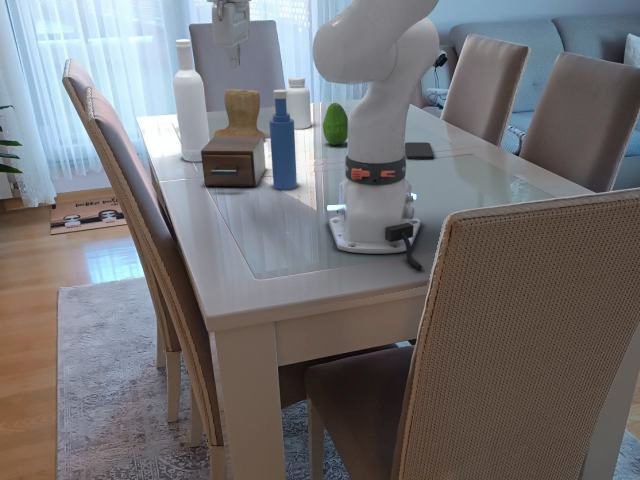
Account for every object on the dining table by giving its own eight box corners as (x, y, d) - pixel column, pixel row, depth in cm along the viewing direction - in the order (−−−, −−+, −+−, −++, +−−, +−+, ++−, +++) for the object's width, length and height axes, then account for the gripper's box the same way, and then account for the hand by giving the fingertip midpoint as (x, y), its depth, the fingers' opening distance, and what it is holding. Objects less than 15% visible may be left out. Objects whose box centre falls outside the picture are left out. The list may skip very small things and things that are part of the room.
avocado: (320, 147, 188) (319, 104, 182) (327, 141, 195) (326, 99, 189) (346, 149, 187) (346, 105, 180) (352, 142, 193) (352, 100, 187)
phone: (407, 156, 176) (404, 142, 189) (406, 159, 176) (404, 145, 189) (434, 156, 176) (429, 142, 189) (433, 159, 176) (429, 145, 189)
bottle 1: (177, 159, 177) (160, 40, 162) (195, 153, 183) (180, 37, 168) (200, 163, 174) (184, 42, 158) (217, 156, 180) (204, 39, 164)
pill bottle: (283, 125, 213) (280, 77, 206) (305, 123, 216) (304, 75, 209) (291, 130, 207) (289, 80, 200) (314, 127, 210) (313, 79, 202)
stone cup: (265, 135, 202) (261, 84, 194) (265, 144, 192) (261, 91, 184) (216, 136, 201) (211, 85, 193) (214, 145, 190) (208, 92, 183)
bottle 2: (295, 189, 154) (290, 93, 142) (272, 189, 154) (265, 92, 142) (298, 182, 158) (293, 88, 147) (275, 182, 159) (269, 88, 147)
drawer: (249, 189, 151) (246, 161, 147) (201, 189, 151) (197, 160, 148) (261, 168, 166) (259, 141, 163) (218, 168, 167) (215, 141, 163)
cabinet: (255, 186, 156) (253, 151, 151) (204, 186, 156) (200, 150, 152) (265, 169, 169) (263, 136, 164) (218, 169, 169) (214, 135, 165)
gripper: (234, -7, 117) (241, 74, 124) (252, -11, 135) (258, 61, 142) (200, -7, 117) (209, 74, 124) (223, -10, 135) (229, 61, 142)
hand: (235, 67), depth 133 cm, fingers closed
